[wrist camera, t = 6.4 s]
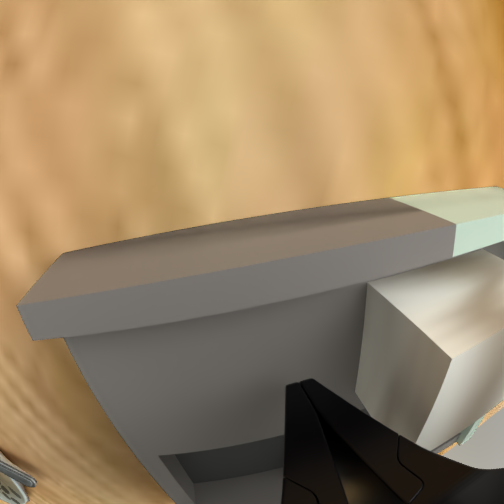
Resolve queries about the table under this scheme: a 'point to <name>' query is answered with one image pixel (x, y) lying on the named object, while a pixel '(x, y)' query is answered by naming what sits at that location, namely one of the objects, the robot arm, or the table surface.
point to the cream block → (434, 347)
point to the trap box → (241, 326)
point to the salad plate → (14, 482)
